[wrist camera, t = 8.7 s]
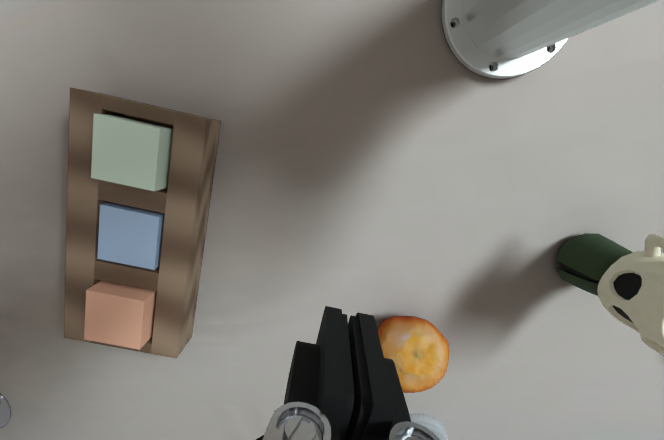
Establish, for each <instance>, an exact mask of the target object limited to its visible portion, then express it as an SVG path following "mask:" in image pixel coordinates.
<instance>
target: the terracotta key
mask: <svg viewBox="0 0 664 440" xmlns="http://www.w3.org/2000/svg"><path fill="white" fill-rule="evenodd" d="M156 297H157V291H154V290H149V289H144V288H139V287H134V286H129V285H124V284H119V283H113V282H108V281H103V280H101V281H100V282H98V283H97V284H95V285H93V286H92V287H90V288H89V289H87V290H86V306H85V329H84V339H85V340H90V341H96V342H101V343H106V344H112V345H117V346H123V347H128V348H133V349H139V350H140V349H141V348H142V347H143V346H144V344H145V343H146V342H147V341H148V340H149V339H150V338H151V337H152V336H153V327H154V317H155V307H156Z"/></svg>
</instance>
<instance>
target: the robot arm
mask: <svg viewBox="0 0 664 440" xmlns="http://www.w3.org/2000/svg"><path fill="white" fill-rule="evenodd" d="M657 1H659V0H443V3H442V24H443V29H444V33H445V37H446V40H447V42H448V44H449V46H450V49H451V51H452V52H453V53H454V55H455V56H456V57H457V59H458V60H459V61H460V62H461V63H462V64H463V65H464V66H465V67H467V68H468V69H470V70H471V71H473V72H475V73H477V74H479V75H482V76H485V77H488V78H497V79H504V78H513V77H516V76H520V75H523V74H526V73H528V72H531V71H533V70H535V69H537V68H539V67H540V66H542V65H543V64H545V63H546V62H548V61H549V60H550V59H551V58H552V57H553V56H555V55H556V54H557V53H558V52H559V50H560V49H561V48H562V46H563V45H564V44H565V43H566V41H567V40H568V38H570V37H572V36H575V35H577V34H580V33H582V32H584V31H587V30H589V29H592V28H594V27H596V26H599V25H601V24H604V23H606V22H608V21H611V20H613V19H616V18H618V17H621V16H623V15H625V14H628V13H630V12H633V11H635V10H637V9H640V8H642V7H645V6H647V5H650V4H652V3H654V2H657ZM450 23H452V24H453V25H454V28H453V27H451V25H450ZM489 66H491V71H490V69H489ZM256 440H440V439H439V438H438V437H437V436H436V435H435V434H434V433H433V432H432V431H430V430H429V429H427V428H426V427H424V426H422V425H420V424H417V423H414V422H411V419H410V415H409V412H408V408H407V405H406V401H405V398H404V394H403V391H402V387H401V384H400V380H399V377H398V373H397V370H396V366H395V363H394V361H393V360H392V359H388V358H384V355H383V351H382V347H381V343H380V339H379V335H378V331H377V327H376V323H375V319H374V316H372V315H367V314H362V313H357V314H356V316H351V317H350V319H349V323H348V322H347V315H346V314H342V310H341V309H337V308H332V307H327V306H326V307H325V310H324V314H323V318H322V322H321V326H320V330H319V334H318V338H317V342H316V344H310V343H305V342H300V341H297V342H296V346H295V350H294V355H293V359H292V363H291V368H290V373H289V378H288V383H287V389H286V394H285V400H284V405H282V406H281V407H279V408H278V409H277V410H276V411H275V412H274V414H273V415H272V417H271V419H270V422H269V424H268V427H267V429H266V432H265V434H264V435H263V436H261V437H260V438H258V439H256Z"/></svg>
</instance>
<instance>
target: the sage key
mask: <svg viewBox="0 0 664 440" xmlns="http://www.w3.org/2000/svg"><path fill="white" fill-rule="evenodd" d="M173 130H174V129H173V128H168V127H164V126H159V125H155V124H151V123H146V122H142V121H137V120H133V119H129V118H124V117H120V116H115V115H104V114H94V118H93V141H92V165H91V178H94V179H99V180H103V181H108V182H113V183H117V184H122V185H127V186H131V187H136V188H141V189H145V190H150V191H157V190H161V189H164V188H167V187H168V179H169V169H170V159H171V149H172V139H173Z"/></svg>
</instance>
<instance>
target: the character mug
mask: <svg viewBox="0 0 664 440" xmlns="http://www.w3.org/2000/svg"><path fill="white" fill-rule="evenodd" d="M661 248H663V249H664V236H660V235H656V234H650V235H648V236H647V238H646V240H645V251H637V252H631V251H629V250H627V249H626V248H624V247H622V246H620V245H619V244H617V243H615V242H613V241H611V240H610V239H608V238H605V237H603V236H601V235H599V234H583V235H579V236H576V237H573V238H571V239H570V240H569V241H567V242H566V243H565V244H564V245H563V246H562V247H561V249H560V251H559V253H558V255H557V257H556V261H558V262H560V263H562V264H564V265H565V266H564V267H565V270H566V272H564V271H562V270H560V269H558V268H556V271H557V272H558V274H559V275H560V277H561V278H562V279H563V280H565V281H567V282H569V283H570V284H572V285H574V286H577V287H579V288H581V289H583V290H585V291H587V292H590V293H592V294H595V295H597V296H598V297H599V299H600V300H601V302H602V304H603V306H604V307H605V308H606V309H607V311H608V312H609V313H610V314H611V315H612V316H613V317H615V318H616V319H617V320H619V321H620V322H622V323H623V324H625V325H627V326H629V327H631V328H632V329H634V330H636V331H637V332H639V333H640V334H641V339H642V341H643V342H644V343H645V344H646V345H648V346H649V347H651V348H652V349H654V350H655V351H657V352H658V353H660V354H661V355H663V356H664V253H662V252H661Z"/></svg>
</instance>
